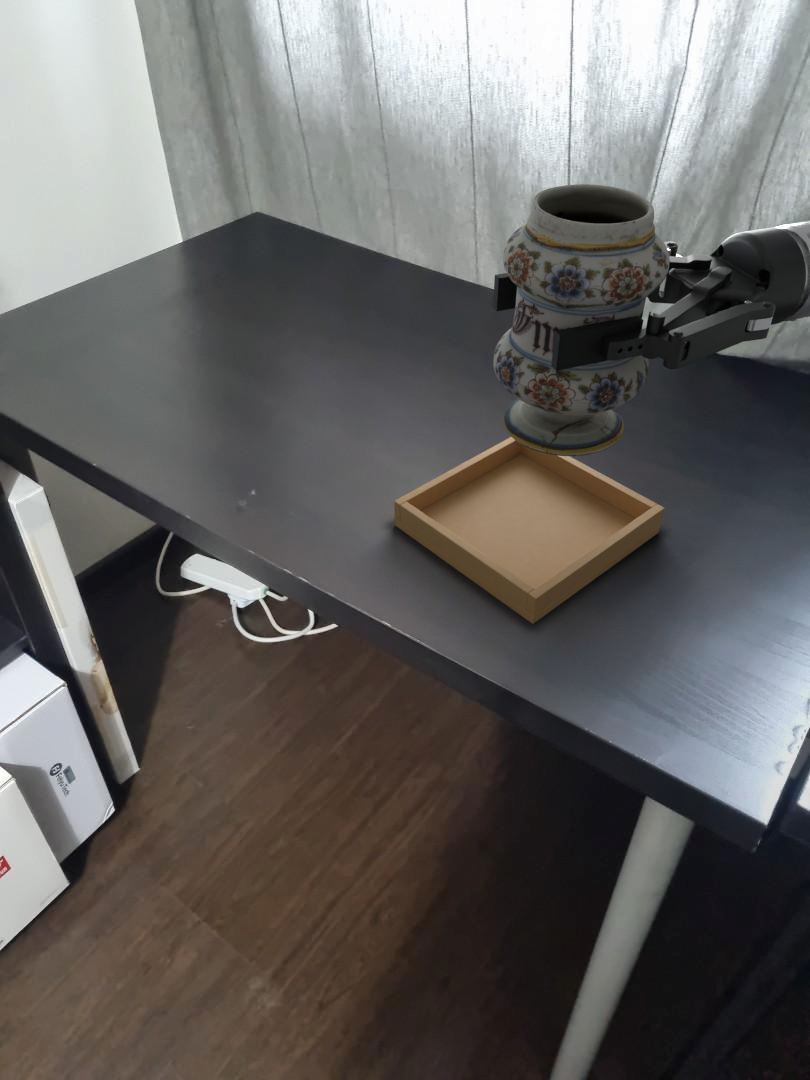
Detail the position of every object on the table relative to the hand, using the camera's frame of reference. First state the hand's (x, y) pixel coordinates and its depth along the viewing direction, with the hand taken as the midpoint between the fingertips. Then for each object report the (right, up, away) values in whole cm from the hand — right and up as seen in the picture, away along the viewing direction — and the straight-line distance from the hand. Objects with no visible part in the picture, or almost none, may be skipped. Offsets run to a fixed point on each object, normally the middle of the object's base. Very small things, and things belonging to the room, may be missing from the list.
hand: (523, 320), depth 61 cm
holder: (+2, -15, +13) cm, 20 cm away
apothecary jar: (+4, -7, +8) cm, 11 cm away
